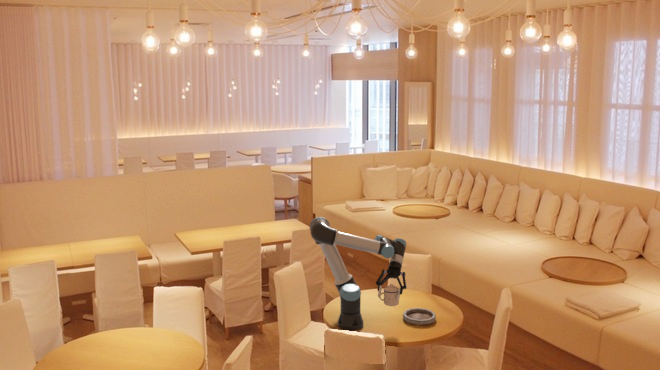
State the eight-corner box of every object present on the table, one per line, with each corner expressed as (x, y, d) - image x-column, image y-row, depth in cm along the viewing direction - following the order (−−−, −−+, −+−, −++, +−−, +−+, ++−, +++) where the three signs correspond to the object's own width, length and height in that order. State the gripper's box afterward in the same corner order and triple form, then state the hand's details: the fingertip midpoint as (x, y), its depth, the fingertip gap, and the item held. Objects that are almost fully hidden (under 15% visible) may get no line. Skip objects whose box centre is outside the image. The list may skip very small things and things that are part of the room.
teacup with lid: (395, 299, 376) (395, 280, 373) (401, 305, 367) (401, 286, 365) (376, 302, 372) (376, 283, 370) (381, 307, 364) (382, 288, 361)
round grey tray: (399, 323, 378) (399, 318, 377) (407, 311, 395) (407, 306, 395) (431, 327, 371) (432, 322, 370) (438, 315, 389) (438, 310, 388)
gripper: (415, 268, 376) (409, 303, 365) (378, 264, 384) (370, 297, 373) (414, 262, 370) (407, 297, 359) (375, 258, 378) (367, 292, 367)
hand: (388, 297), depth 366 cm, fingers closed on teacup with lid, 11 cm apart
